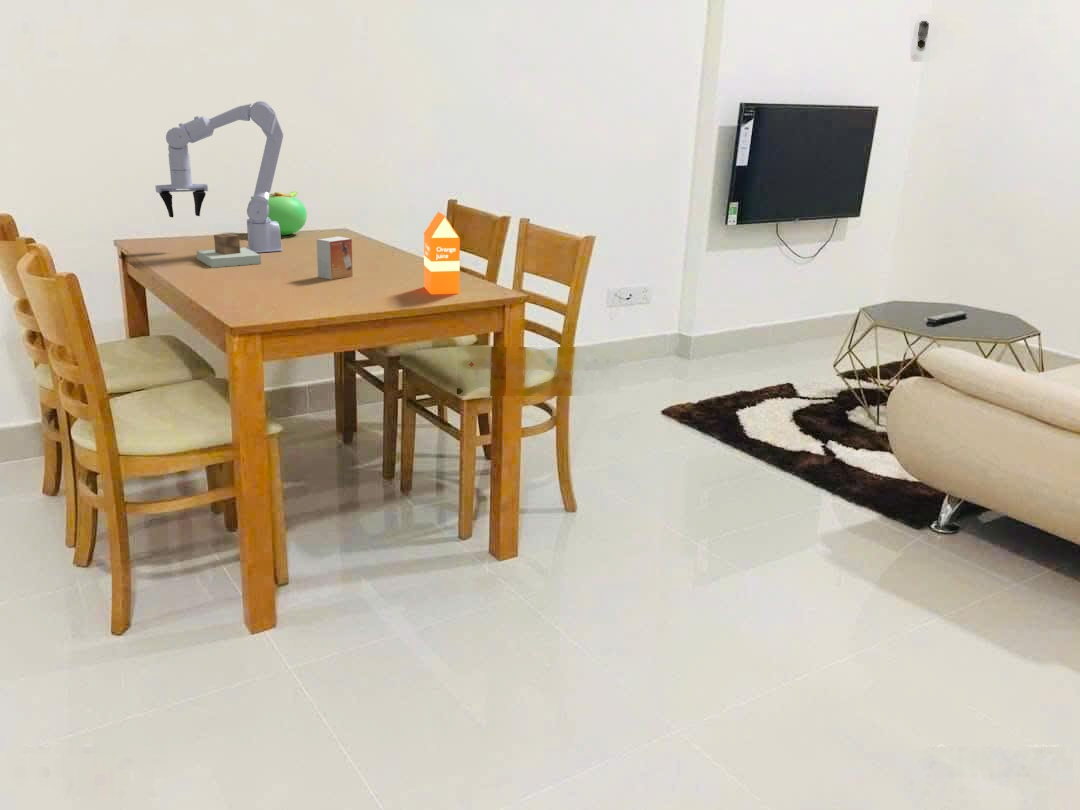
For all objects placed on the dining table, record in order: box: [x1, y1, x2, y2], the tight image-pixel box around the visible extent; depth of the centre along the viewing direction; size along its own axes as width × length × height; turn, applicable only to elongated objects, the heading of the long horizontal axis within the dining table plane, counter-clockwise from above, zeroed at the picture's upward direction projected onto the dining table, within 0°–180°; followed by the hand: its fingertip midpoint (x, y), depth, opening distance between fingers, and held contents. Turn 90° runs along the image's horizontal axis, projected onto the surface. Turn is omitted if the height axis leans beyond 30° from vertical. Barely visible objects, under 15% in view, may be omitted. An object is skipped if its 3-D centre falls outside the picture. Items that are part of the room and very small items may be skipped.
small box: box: [316, 235, 354, 281], centre depth 242 cm, size 8×6×10 cm
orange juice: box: [423, 211, 461, 295], centre depth 230 cm, size 8×9×20 cm
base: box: [196, 246, 262, 268], centre depth 256 cm, size 14×14×2 cm
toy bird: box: [250, 191, 308, 236], centre depth 301 cm, size 18×17×15 cm
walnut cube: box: [213, 232, 241, 255], centre depth 255 cm, size 5×5×5 cm
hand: (184, 216), depth 265 cm, fingers open, 7 cm apart
